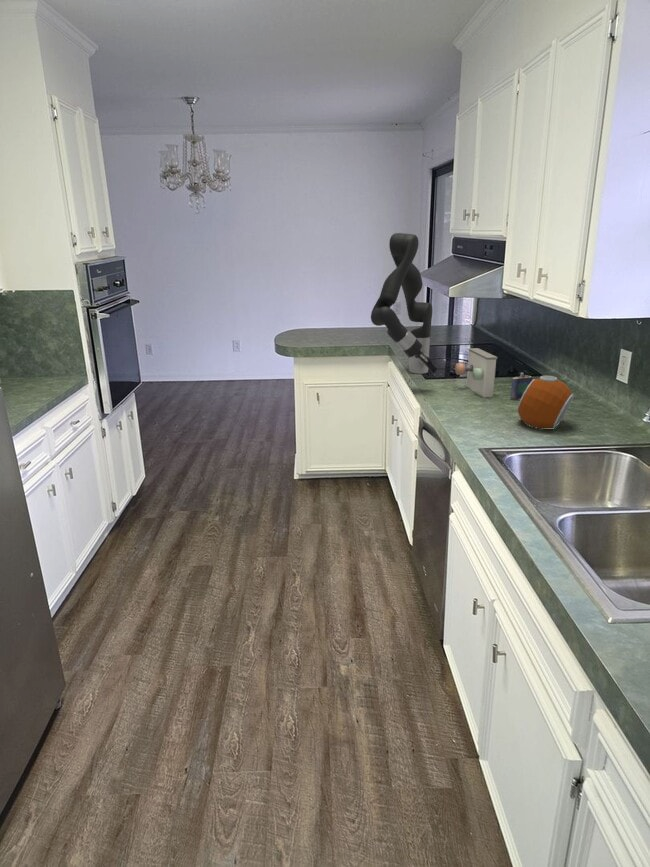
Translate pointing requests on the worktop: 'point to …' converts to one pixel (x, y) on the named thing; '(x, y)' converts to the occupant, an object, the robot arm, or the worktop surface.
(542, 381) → the alarm clock
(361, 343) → the worktop surface
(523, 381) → the flask
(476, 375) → the sage button
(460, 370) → the terracotta button
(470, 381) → the panel
